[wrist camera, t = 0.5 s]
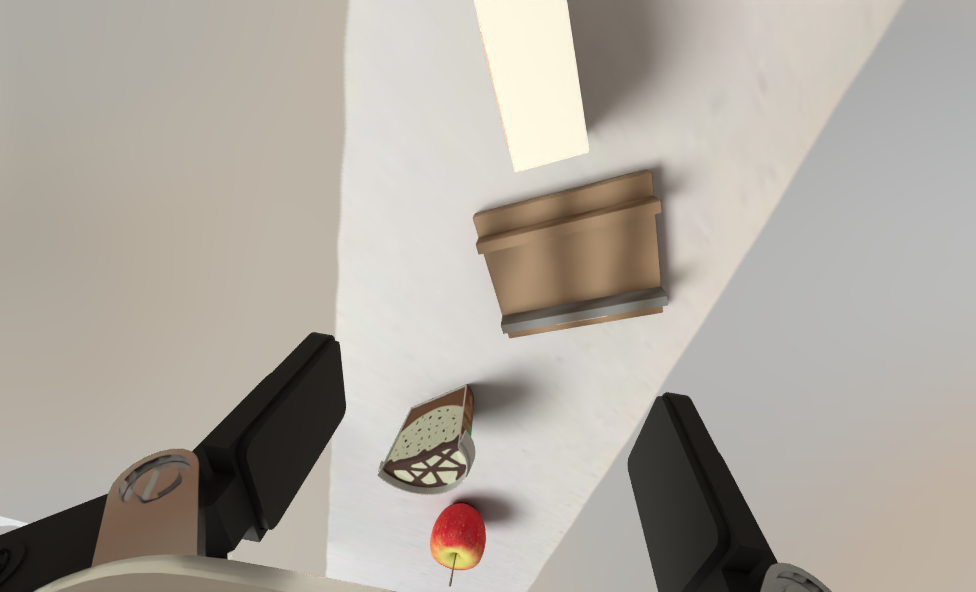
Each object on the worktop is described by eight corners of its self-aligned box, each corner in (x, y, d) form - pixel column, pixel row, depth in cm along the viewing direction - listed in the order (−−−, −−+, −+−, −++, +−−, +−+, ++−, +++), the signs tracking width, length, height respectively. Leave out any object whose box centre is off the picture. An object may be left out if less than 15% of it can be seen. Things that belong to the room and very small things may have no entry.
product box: (553, 1, 27) (560, -42, 19) (575, 139, 31) (589, 151, 24) (487, 26, 28) (468, -5, 20) (517, 156, 33) (512, 173, 25)
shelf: (646, 169, 32) (658, 176, 29) (658, 305, 38) (669, 322, 35) (475, 213, 35) (469, 224, 32) (510, 330, 41) (508, 349, 38)
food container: (429, 439, 52) (407, 508, 43) (402, 411, 50) (374, 477, 41) (502, 412, 47) (494, 481, 39) (476, 379, 45) (462, 445, 37)
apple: (436, 518, 61) (419, 588, 52) (441, 488, 57) (423, 558, 48) (484, 529, 60) (475, 601, 52) (492, 499, 56) (484, 571, 48)
